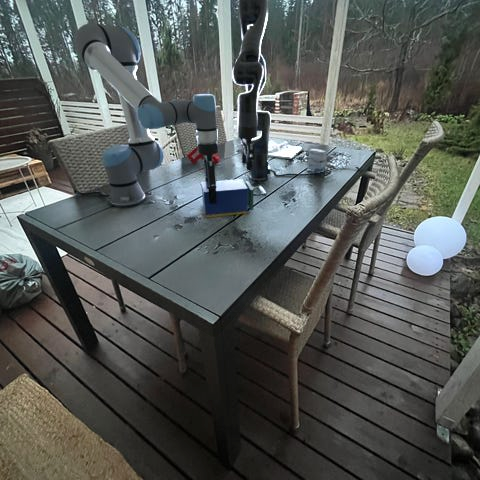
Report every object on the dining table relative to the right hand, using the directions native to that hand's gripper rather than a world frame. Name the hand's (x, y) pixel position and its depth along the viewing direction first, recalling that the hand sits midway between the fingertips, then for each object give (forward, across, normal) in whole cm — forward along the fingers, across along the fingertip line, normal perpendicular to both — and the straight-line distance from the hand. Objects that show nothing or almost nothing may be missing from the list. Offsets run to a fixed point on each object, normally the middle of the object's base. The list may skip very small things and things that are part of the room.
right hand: (246, 166), depth 112 cm
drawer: (+16, +4, -4) cm, 17 cm away
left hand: (+11, +4, -16) cm, 19 cm away
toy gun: (+16, -64, -13) cm, 67 cm away
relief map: (+16, -81, +38) cm, 91 cm away
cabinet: (+17, +4, -10) cm, 20 cm away
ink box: (+16, -34, +49) cm, 61 cm away
